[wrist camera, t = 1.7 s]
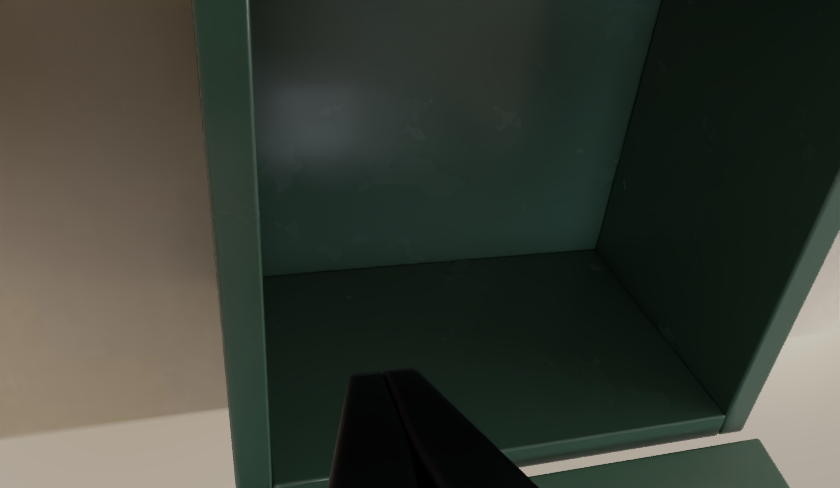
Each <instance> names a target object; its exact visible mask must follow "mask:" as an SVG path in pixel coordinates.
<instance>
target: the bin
mask: <svg viewBox="0 0 840 488" xmlns="http://www.w3.org/2000/svg"><path fill="white" fill-rule="evenodd" d="M191 2H192V13H193V24H194V34H195V45H196V56H197V67H198V78H199V89H200V100H201V111H202V122H203V133H204V144H205V155H206V166H207V177H208V188H209V198H210V209H211V220H212V231H213V242H214V253H215V264H216V275H217V286H218V297H219V308H220V319H221V330H222V341H223V351H224V362H225V373H226V384H227V395H228V406H229V417H230V428H231V439H232V450H233V460H234V471H235V483H236V488H328V483H329V478H330V473H331V467H332V462H333V457H334V451H335V446H336V441H337V436H338V430H339V425H340V420H341V414H342V409H343V404H344V398H345V393H346V388H347V382H348V378H349V376H350V375H351V374H353V373H360V372H369V371H379V372H380V373H381V374H382V372H384V371H385V370H387V369H396V368H405V367H412V368H414V369H416V370H417V371H418V372H419V373H420V374H421V375H423V376H424V377H425V378H426V379H427V380H428V381H429V382H430V383H431V384H432V385H433V386H434V387H435V388H436V389H437V390H438V391H439V392H440V393H441V394H442V395H443V396H444V397H445V398H446V399H447V400H448V401H450V402H451V403H452V404H453V405H454V406H455V407H456V408H457V409H458V410H459V411H460V412H461V413H462V414H463V415H464V416H465V417H466V418H467V419H468V420H469V421H470V422H471V423H472V424H473V425H474V426H475V427H476V428H478V429H479V430H480V431H481V432H482V433H483V434H484V435H485V436H486V437H487V438H488V439H489V440H490V441H491V442H492V443H493V444H494V445H495V446H496V447H497V448H498V449H499V450H500V451H501V452H502V453H503V454H505V455H506V456H507V457H508V458H509V459H510V460H511V461H512V462H513V463H514V464H515V465H516V466H517V467H518V468H519V467H525V466H531V465H537V464H544V463H550V462H555V461H562V460H568V459H574V458H580V457H586V456H593V455H599V454H605V453H611V452H617V451H623V450H629V449H635V448H641V447H647V446H654V445H660V444H666V443H672V442H678V441H684V440H690V439H696V438H702V437H709V436H715V435H717V434H725V433H731V432H737V431H741V430H742V429H743V427H744V425H745V423H746V420H747V419H748V416H749V415H750V412H751V410H752V408H753V406H754V404H755V402H756V400H757V398H758V396H759V394H760V392H761V390H762V388H763V386H764V384H765V382H766V380H767V378H768V376H769V373H770V372H771V370H772V367H773V365H774V363H775V361H776V359H777V357H778V355H779V353H780V351H781V349H782V347H783V345H784V343H785V341H786V339H787V337H788V335H789V333H790V331H791V329H792V327H793V325H794V322H795V320H796V318H797V316H798V314H799V312H800V310H801V308H802V306H803V304H804V302H805V300H806V298H807V296H808V294H809V292H810V290H811V288H812V286H813V284H814V282H815V279H816V277H817V275H818V273H819V271H820V269H821V267H822V265H823V263H824V261H825V259H826V257H827V255H828V253H829V251H830V249H831V247H832V245H833V243H834V241H835V239H836V237H837V234H838V232H839V230H840V0H191Z"/></svg>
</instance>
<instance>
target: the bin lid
mask: <svg viewBox="0 0 840 488" xmlns="http://www.w3.org/2000/svg"><path fill="white" fill-rule="evenodd" d="M528 478H529V479H530V480H531V481H533V482H534V483H535V484H536V485H537V486H538V487H539V488H790V487H789V486H788V484H787V482H786V481H785V479H784V478H783V476H782V474H781V473H780V471H779V470H778V468H777V467H776V465H775V463H774V462H773V460H772V459H771V457H770V456H769V454H768V452H767V451H766V449H765V448H764V446H763V445H762V443H761V441H760V440H759V439H752V440H747V441H740V442H734V443H728V444H722V445H717V446H710V447H705V448H699V449H692V450H686V451H681V452H674V453H668V454H663V455H657V456H651V457H645V458H639V459H633V460H627V461H621V462H615V463H609V464H603V465H597V466H591V467H585V468H579V469H573V470H567V471H561V472H555V473H550V474H543V475H538V476H531V477H528Z"/></svg>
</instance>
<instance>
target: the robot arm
mask: <svg viewBox="0 0 840 488" xmlns="http://www.w3.org/2000/svg"><path fill="white" fill-rule="evenodd" d="M328 488H539V487H538V486H537V485H536V484H535V483H534V482H533V481H531V480H530V479H529V478H528V477H527V476H526V475H525V474H524V473H523V472H522V471H521V470H520V469H519V468H518V467H517V466H516V465H515V464H514V463H513V462H512V461H511V460H510V459H509V458H508V457H507V456H506V455H505V454H503V453H502V452H501V451H500V450H499V449H498V448H497V447H496V446H495V445H494V444H493V443H492V442H491V441H490V440H489V439H488V438H487V437H486V436H485V435H484V434H483V433H482V432H481V431H480V430H479V429H478V428H476V427H475V426H474V425H473V424H472V423H471V422H470V421H469V420H468V419H467V418H466V417H465V416H464V415H463V414H462V413H461V412H460V411H459V410H458V409H457V408H456V407H455V406H454V405H453V404H452V403H451V402H450V401H448V400H447V399H446V398H445V397H444V396H443V395H442V394H441V393H440V392H439V391H438V390H437V389H436V388H435V387H434V386H433V385H432V384H431V383H430V382H429V381H428V380H427V379H426V378H425V377H424V376H423V375H421V374H420V373H419V372H418V371H417V370H416V369H414V368H412V367H405V368H396V369H387V370H385V371H384V372H382V374H381V373H380V372H379V371H369V372H360V373H353V374H351V375H350V376H349V378H348V382H347V388H346V393H345V398H344V404H343V409H342V414H341V420H340V425H339V430H338V436H337V441H336V446H335V451H334V457H333V462H332V467H331V473H330V478H329V483H328Z"/></svg>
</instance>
